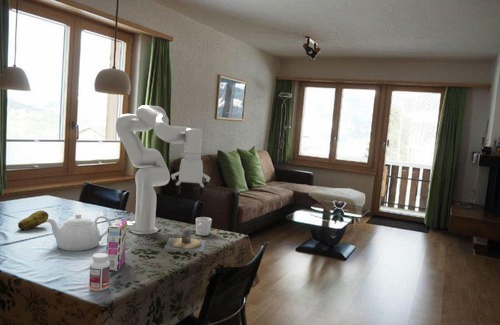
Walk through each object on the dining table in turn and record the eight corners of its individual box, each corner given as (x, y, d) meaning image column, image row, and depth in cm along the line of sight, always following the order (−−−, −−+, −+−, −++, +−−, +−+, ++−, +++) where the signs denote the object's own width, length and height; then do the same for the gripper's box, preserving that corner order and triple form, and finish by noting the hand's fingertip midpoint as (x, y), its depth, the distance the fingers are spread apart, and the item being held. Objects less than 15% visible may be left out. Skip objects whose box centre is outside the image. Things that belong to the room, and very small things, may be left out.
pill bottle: (106, 282, 141) (108, 251, 140) (111, 289, 136) (112, 257, 135) (87, 285, 138) (88, 253, 136) (91, 292, 132) (92, 259, 131)
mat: (163, 250, 179) (163, 249, 179) (169, 238, 196) (169, 237, 196) (203, 252, 180) (203, 251, 180) (205, 241, 197) (205, 240, 196)
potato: (16, 227, 194) (16, 210, 194) (46, 225, 202) (47, 208, 201) (18, 231, 188) (18, 214, 187) (49, 229, 195) (50, 212, 194)
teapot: (80, 255, 164) (81, 221, 163) (44, 247, 171) (45, 214, 169) (111, 243, 182) (112, 213, 180) (77, 236, 188) (78, 206, 187)
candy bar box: (119, 271, 151) (121, 227, 150) (104, 271, 151) (107, 226, 149) (125, 261, 162) (127, 220, 161) (112, 260, 162) (114, 219, 160)
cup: (206, 239, 200) (207, 223, 199) (190, 237, 201) (191, 220, 201) (212, 233, 210) (213, 218, 210) (197, 231, 212) (198, 216, 211)
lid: (169, 247, 181) (170, 233, 180) (173, 239, 194) (174, 225, 193) (199, 249, 181) (200, 235, 181) (201, 241, 194) (202, 227, 194)
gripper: (171, 155, 179) (168, 194, 181) (211, 158, 180) (208, 197, 182) (173, 154, 187) (171, 191, 189) (212, 157, 188) (209, 194, 190)
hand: (189, 194), depth 185 cm, fingers open, 9 cm apart
